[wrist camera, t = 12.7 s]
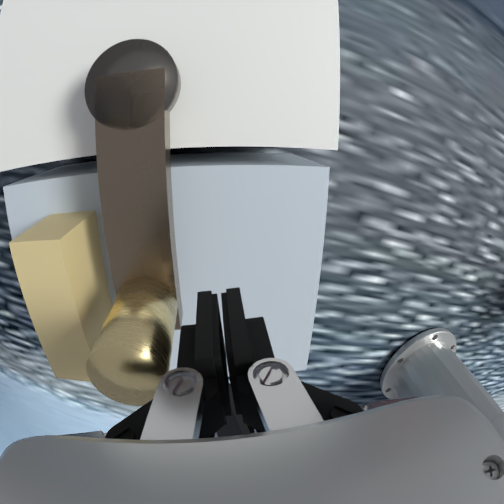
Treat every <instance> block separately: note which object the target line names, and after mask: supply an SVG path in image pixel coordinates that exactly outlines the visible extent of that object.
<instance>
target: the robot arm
mask: <svg viewBox="0 0 504 504" xmlns="http://www.w3.org/2000/svg"><path fill="white" fill-rule="evenodd" d="M221 300H222V313H223V326H224V337H223V330H222V324H221V317H220V310H219V303H218V296H217V293H216V294H212V291H201V292H198V293H197V310H196V324H193V325H182V326H181V331H180V340H179V350H178V360H177V368H176V369H172V370H170V371H168V372H167V373H165V374H164V375H163V376H162V377H161V379H160V381H159V383H158V386H157V389H156V392H155V395H154V398H153V399H152V400H151V401H149V402H148V403H147V404H145V405H144V406H142V407H141V408H139V409H138V410H137V411H135V412H134V413H132V414H131V415H129V416H128V417H126V418H125V419H124V420H122V421H121V422H119V423H118V424H116V425H115V426H113V427H112V428H111V429H110V430H109V431H108V433H103V432H102V431H95V432H87V433H78V434H68V435H45V436H34V437H29V438H24V439H21V440H18V441H16V442H13V443H12V444H10V445H9V446H8V447H7V448H6V449H5V450H4V452H3V453H2V455H1V457H0V504H504V412H503V411H502V409H501V408H500V407H499V405H498V404H497V403H496V402H495V400H494V399H493V398H492V397H491V396H490V394H489V393H488V392H487V391H486V389H485V388H484V387H483V386H482V385H481V383H480V382H479V381H478V380H477V379H476V377H475V376H474V375H473V374H472V373H471V372H470V370H469V369H468V368H467V367H466V366H465V365H464V364H463V362H462V361H461V360H460V359H459V358H458V357H457V356H456V354H455V351H456V339H455V337H454V336H453V334H452V333H451V332H450V331H449V330H447V329H444V328H434V329H430V330H427V331H424V332H422V333H420V334H418V335H417V336H415V337H414V338H412V339H411V340H409V341H408V342H407V343H405V344H404V345H403V346H402V347H401V348H400V349H399V350H398V351H397V352H396V353H395V354H394V355H393V356H392V358H391V359H390V360H389V362H388V363H387V365H386V366H385V368H384V370H383V372H382V375H381V378H380V388H381V390H382V392H383V394H384V395H385V396H386V397H387V398H389V399H391V400H386V401H376V402H366V405H365V406H359V405H358V404H356V403H354V402H352V401H350V400H347V399H345V398H342V397H339V396H337V395H334V394H332V393H329V392H326V391H324V390H321V389H319V388H316V387H314V386H312V385H309V384H307V383H304V382H302V381H300V379H299V378H298V376H297V374H296V372H295V371H294V369H293V367H292V366H291V365H290V364H289V363H288V362H286V361H285V360H282V359H278V358H275V357H274V353H273V350H272V346H271V343H270V339H269V335H268V332H267V328H266V325H265V321H264V318H263V317H256V318H248V319H245V314H244V309H243V304H242V298H241V293H240V287H237V288H229V289H226V292H225V293H221ZM224 338H225V343H224ZM225 349H226V350H225ZM226 358H227V360H226ZM227 365H228V371H229V377H230V383H231V389H232V394H233V400H234V405H235V411H236V415H242V418H243V422H244V423H245V424H247V425H249V426H251V427H253V428H254V431H255V433H252V434H244V435H235V436H225V437H218V433H217V431H218V430H219V429H220V428H222V427H223V426H224V425H227V418H226V416H232V412H231V402H230V392H229V382H228V371H227Z"/></svg>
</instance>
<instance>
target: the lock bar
mask: <svg viewBox="0 0 504 504" xmlns="http://www.w3.org/2000/svg"><path fill="white" fill-rule="evenodd" d="M180 89H181V77H180V73H179V70H178V67H177V65H176V64H175V62H174V60H173V58H172V57H171V55H170V54H169V53H168V51H167V50H166V49H165V48H164V47H162V46H161V45H159V44H157V43H155V42H153V41H150V40H145V39H130V40H125V41H122V42H119V43H117V44H115V45H113V46H111V47H110V48H108V49H107V50H105V51H104V52H103V53H102V54H101V55H100V56H99V57H98V58H97V59H96V61H95V62H94V63H93V65H92V66H91V68H90V70H89V72H88V75H87V78H86V82H85V90H84V91H85V100H86V104H87V107H88V109H89V111H90V113H91V114H92V116H93V117H94V118H95V136H96V156H97V171H98V182H99V193H100V202H101V210H102V218H103V226H104V233H105V239H106V246H107V252H108V257H109V263H110V268H111V274H112V279H113V284H114V289H115V293H116V299H115V301H114V303H113V305H112V307H111V309H110V311H109V313H108V315H107V317H106V320H105V322H104V324H103V326H102V328H101V330H100V333H99V335H98V337H97V339H96V342H95V344H94V346H93V348H92V351H91V353H90V355H89V358H88V360H87V364H86V370H87V374H88V377H89V379H90V381H91V382H92V384H93V385H94V386H95V387H96V388H97V389H98V390H99V391H100V392H101V393H102V394H104V395H105V396H107V397H109V398H110V399H112V400H115V401H117V402H120V403H123V404H127V405H135V406H141V405H145V404H147V403H148V402H149V401H151V400H152V399H153V398H154V395H155V392H156V389H157V386H158V383H159V381H160V379H161V377H162V376H163V375H164V374H165V373H167V372H168V371H169V368H170V360H171V352H172V345H173V337H174V330H181V325H182V317H183V309H182V301H181V292H180V283H179V274H178V264H177V253H176V242H175V229H174V215H173V199H172V181H171V156H170V111H171V110H172V109H173V107H174V106H175V104H176V102H177V100H178V97H179V94H180Z"/></svg>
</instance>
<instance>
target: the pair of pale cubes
mask: <svg viewBox="0 0 504 504" xmlns="http://www.w3.org/2000/svg"><path fill="white" fill-rule="evenodd" d="M130 39H145V40H150V41H153V42H155V43H157V44H159V45H161V46H162V47H164V48H165V49H166V50H167V51H168V53H169V54H170V55H171V57H172V58H173V60H174V62H175V64H176V65H177V67H178V70H179V73H180V77H181V89H180V94H179V97H178V100H177V102H176V104H175V106H174V107H173V109H172V110H171V111H170V149H171V148H191V147H230V146H254V147H293V148H313V149H329V150H338V136H339V106H340V39H339V12H338V0H3V4H2V9H1V13H0V172H1V171H6V170H11V169H15V168H20V167H25V166H30V165H36V164H41V163H47V162H53V161H59V160H65V159H72V158H79V157H86V156H94V155H96V136H95V118H94V117H93V116H92V114H91V113H90V111H89V109H88V107H87V104H86V100H85V91H84V90H85V82H86V78H87V75H88V72H89V70H90V68H91V66H92V65H93V63H94V62H95V61H96V59H97V58H98V57H99V56H100V55H101V54H102V53H103V52H104V51H105V50H107V49H108V48H110V47H111V46H113V45H115V44H117V43H119V42H122V41H125V40H130ZM170 156H171V181H172V199H173V215H174V229H175V242H176V253H177V264H178V274H179V283H180V292H181V301H182V309H183V317H182V325H193V324H196V310H197V293H198V292H201V291H212V294H216V293H217V296H218V303H219V310H220V317H221V324H222V330H223V337H224V326H223V313H222V300H221V293H225V292H226V289H229V288H237V287H240V293H241V298H242V304H243V309H244V314H245V319H248V318H256V317H263V318H264V321H265V325H266V328H267V332H268V335H269V339H270V343H271V346H272V350H273V353H274V357H275V358H278V359H282V360H285V361H286V362H288V363H289V364H290V365H291V366H292V367H293V369H294V371H298V370H306V367H307V361H308V355H309V349H310V343H311V337H312V330H313V323H314V316H315V309H316V302H317V294H318V287H319V278H320V270H321V261H322V252H323V243H324V232H325V222H326V210H327V198H328V184H329V169H330V167H328V166H325V165H322V164H320V163H317V162H314V161H311V160H308V159H305V158H302V157H299V156H296V155H293V154H290V153H254V152H235V153H192V154H171V155H170ZM3 190H4V198H5V204H6V211H7V217H8V222H9V227H10V232H11V237H12V241H10V242H9V246H10V250H11V254H12V258H13V262H14V266H15V270H16V273H17V277H18V280H19V284H20V287H21V290H22V294H23V297H24V300H25V303H26V306H27V309H28V312H29V314H30V317H31V320H32V323H33V325H34V328H35V330H36V333H37V335H38V338H39V340H40V343H41V345H42V348H43V350H44V352H45V355H46V357H47V359H48V361H49V364H50V366H51V368H52V370H53V372H54V374H55V376H56V378H63V379H72V380H81V381H90V379H89V377H88V374H87V370H86V364H87V360H88V358H89V355H90V353H91V351H92V348H93V346H94V344H95V342H96V339H97V337H98V335H99V333H100V330H101V328H102V326H103V324H104V322H105V320H106V317H107V315H108V313H109V311H110V309H111V307H112V305H113V303H114V301H115V299H116V293H115V289H114V284H113V279H112V274H111V268H110V263H109V257H108V252H107V246H106V239H105V233H104V226H103V218H102V210H101V202H100V193H99V182H98V171H97V161H92V162H84V163H77V164H70V165H63V166H60V167H57V168H54V169H51V170H48V171H45V172H42V173H39V174H36V175H33V176H30V177H28V178H25V179H22V180H20V181H17V182H14V183H12V184H9V185H7V186H4V187H3ZM182 325H181V326H182ZM180 331H181V330H174V337H173V345H172V352H171V360H170V368H169V371H170V370H172V369H176V368H177V360H178V350H179V340H180ZM224 343H225V338H224ZM225 350H226V349H225ZM226 360H227V358H226ZM227 371H228V365H227ZM228 376H229V371H228Z"/></svg>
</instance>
